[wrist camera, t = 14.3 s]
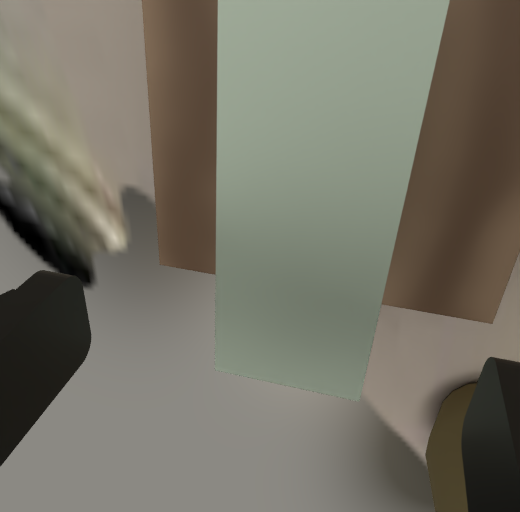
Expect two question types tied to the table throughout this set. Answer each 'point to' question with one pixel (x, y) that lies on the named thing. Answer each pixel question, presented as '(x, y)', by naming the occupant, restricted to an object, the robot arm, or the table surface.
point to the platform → (423, 170)
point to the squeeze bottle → (449, 452)
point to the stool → (313, 178)
